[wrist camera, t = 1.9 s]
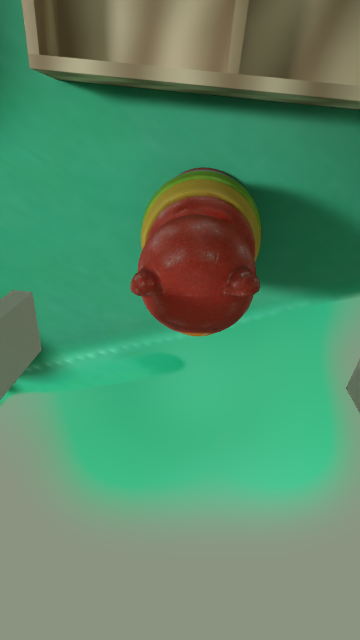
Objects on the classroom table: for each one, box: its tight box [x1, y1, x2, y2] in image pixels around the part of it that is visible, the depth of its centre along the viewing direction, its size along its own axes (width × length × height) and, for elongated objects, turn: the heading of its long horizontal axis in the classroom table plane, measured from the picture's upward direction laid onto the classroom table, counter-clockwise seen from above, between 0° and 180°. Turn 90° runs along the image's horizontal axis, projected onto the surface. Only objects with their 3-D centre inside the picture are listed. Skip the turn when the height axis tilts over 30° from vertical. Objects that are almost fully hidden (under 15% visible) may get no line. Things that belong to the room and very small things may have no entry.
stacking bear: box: [130, 168, 262, 336], centre depth 23 cm, size 11×10×18 cm
